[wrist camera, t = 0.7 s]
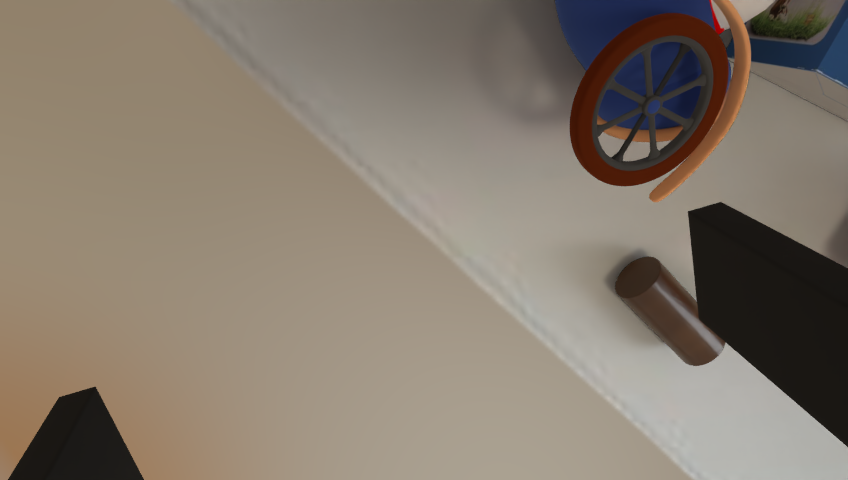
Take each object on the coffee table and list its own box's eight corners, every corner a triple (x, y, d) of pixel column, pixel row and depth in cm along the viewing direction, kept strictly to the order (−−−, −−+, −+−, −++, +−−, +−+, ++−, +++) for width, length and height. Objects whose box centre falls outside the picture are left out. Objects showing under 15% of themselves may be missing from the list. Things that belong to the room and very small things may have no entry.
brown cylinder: (606, 285, 35) (630, 305, 32) (643, 249, 34) (670, 268, 32) (671, 350, 37) (698, 374, 35) (706, 317, 37) (736, 339, 34)
